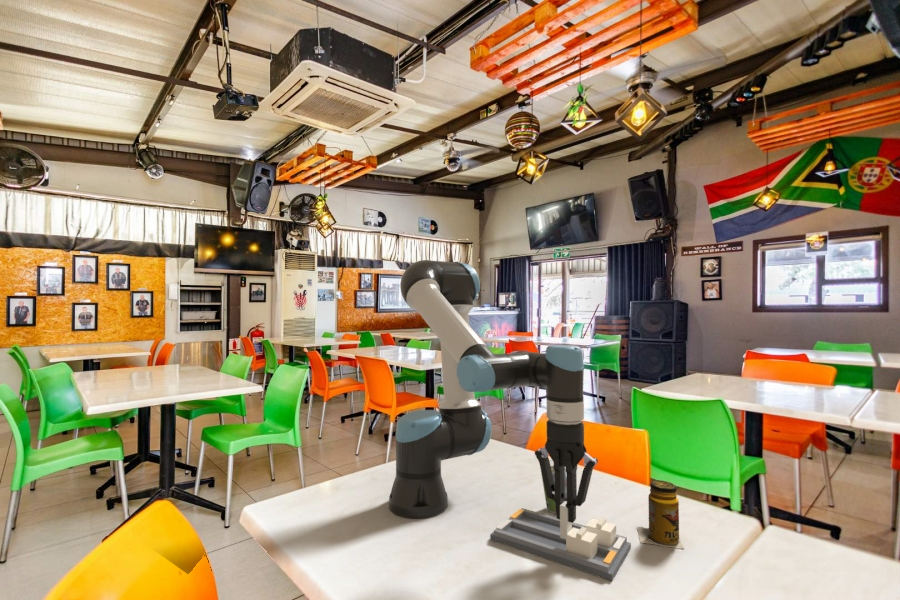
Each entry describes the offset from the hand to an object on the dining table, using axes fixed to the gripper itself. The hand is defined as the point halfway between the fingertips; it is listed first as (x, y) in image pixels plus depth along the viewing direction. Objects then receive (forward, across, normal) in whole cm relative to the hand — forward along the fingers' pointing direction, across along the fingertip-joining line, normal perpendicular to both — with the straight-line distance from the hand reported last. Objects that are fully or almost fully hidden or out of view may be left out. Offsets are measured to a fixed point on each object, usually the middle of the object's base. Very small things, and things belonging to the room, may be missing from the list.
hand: (566, 536), depth 92 cm
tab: (+3, +3, 0) cm, 4 cm away
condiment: (+4, +14, +19) cm, 24 cm away
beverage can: (+4, -10, +19) cm, 22 cm away
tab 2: (+3, +5, +6) cm, 9 cm away
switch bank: (+4, -3, +3) cm, 6 cm away
